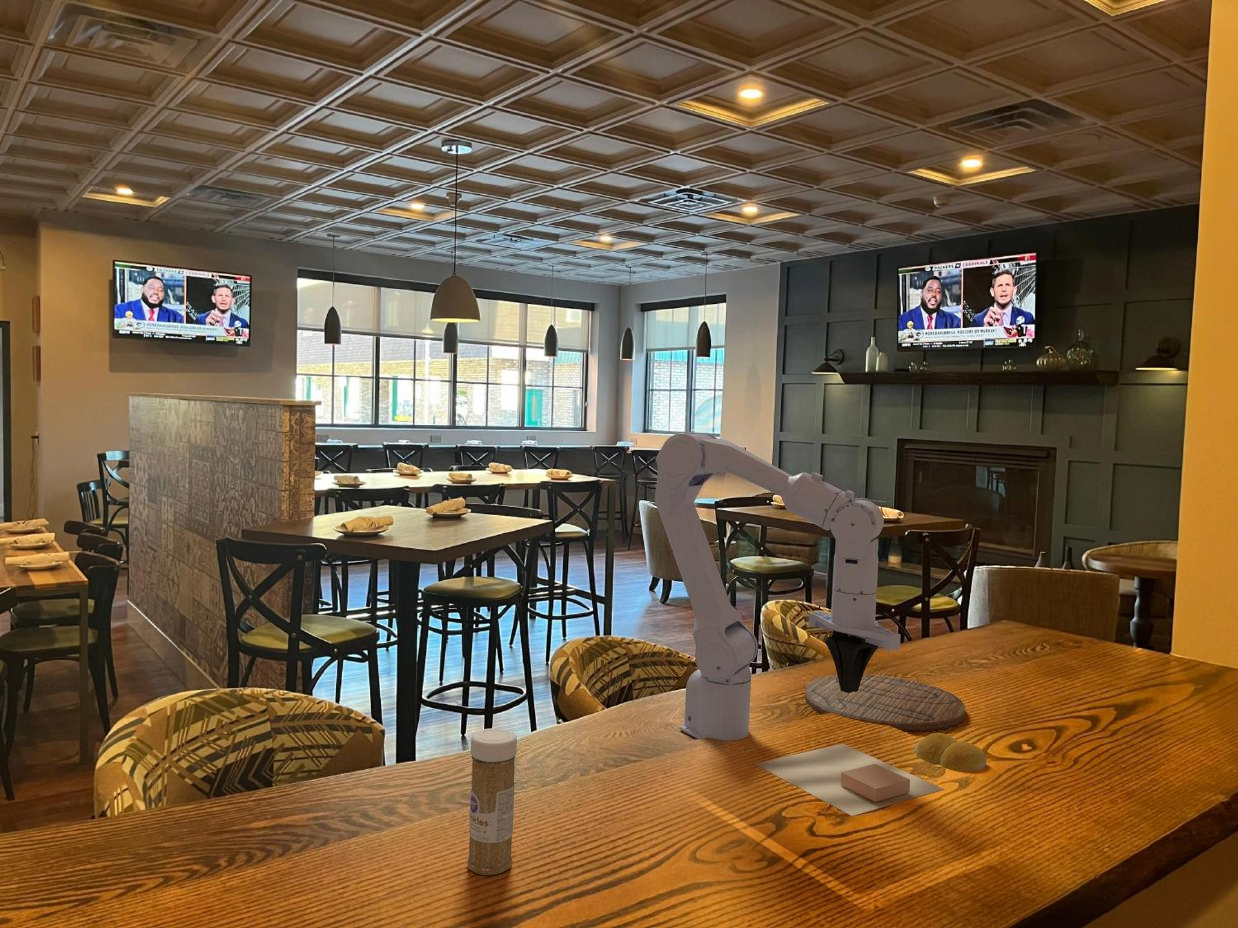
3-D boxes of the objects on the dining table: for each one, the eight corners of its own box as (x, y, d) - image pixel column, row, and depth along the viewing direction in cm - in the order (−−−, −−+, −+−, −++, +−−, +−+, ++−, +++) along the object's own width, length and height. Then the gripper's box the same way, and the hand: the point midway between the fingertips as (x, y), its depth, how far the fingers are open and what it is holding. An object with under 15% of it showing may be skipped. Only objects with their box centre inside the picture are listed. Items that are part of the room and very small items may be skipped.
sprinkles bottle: (457, 865, 90) (461, 734, 89) (492, 849, 93) (495, 723, 93) (488, 882, 87) (492, 746, 86) (522, 865, 90) (526, 734, 90)
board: (754, 771, 117) (754, 763, 117) (842, 750, 125) (842, 743, 125) (851, 824, 102) (852, 815, 102) (943, 796, 111) (944, 789, 111)
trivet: (946, 747, 129) (946, 734, 129) (781, 712, 142) (782, 700, 142) (978, 703, 150) (978, 692, 150) (832, 675, 163) (833, 665, 163)
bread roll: (967, 784, 116) (969, 754, 115) (905, 762, 122) (907, 734, 122) (998, 769, 121) (1000, 740, 121) (937, 749, 128) (938, 721, 128)
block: (841, 771, 111) (875, 788, 106) (875, 763, 114) (910, 779, 109) (840, 785, 111) (875, 803, 106) (874, 776, 114) (909, 793, 109)
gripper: (918, 598, 115) (912, 702, 116) (836, 578, 128) (831, 672, 128) (880, 602, 112) (874, 710, 112) (799, 582, 124) (794, 678, 125)
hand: (849, 690), depth 120 cm, fingers closed
